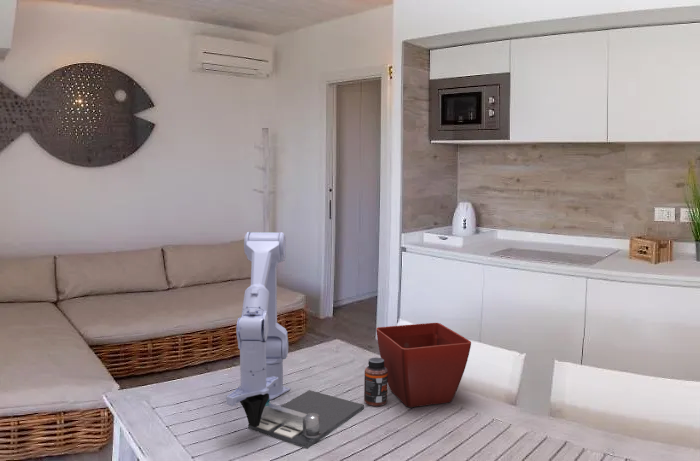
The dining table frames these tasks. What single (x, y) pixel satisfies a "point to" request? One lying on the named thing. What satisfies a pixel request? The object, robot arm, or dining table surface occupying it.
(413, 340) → the plant pot
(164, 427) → the dining table surface
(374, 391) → the supplement bottle
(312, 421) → the grey rounded cylinder
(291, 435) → the label
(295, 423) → the bar
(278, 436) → the tray
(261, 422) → the label
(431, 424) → the dining table surface
